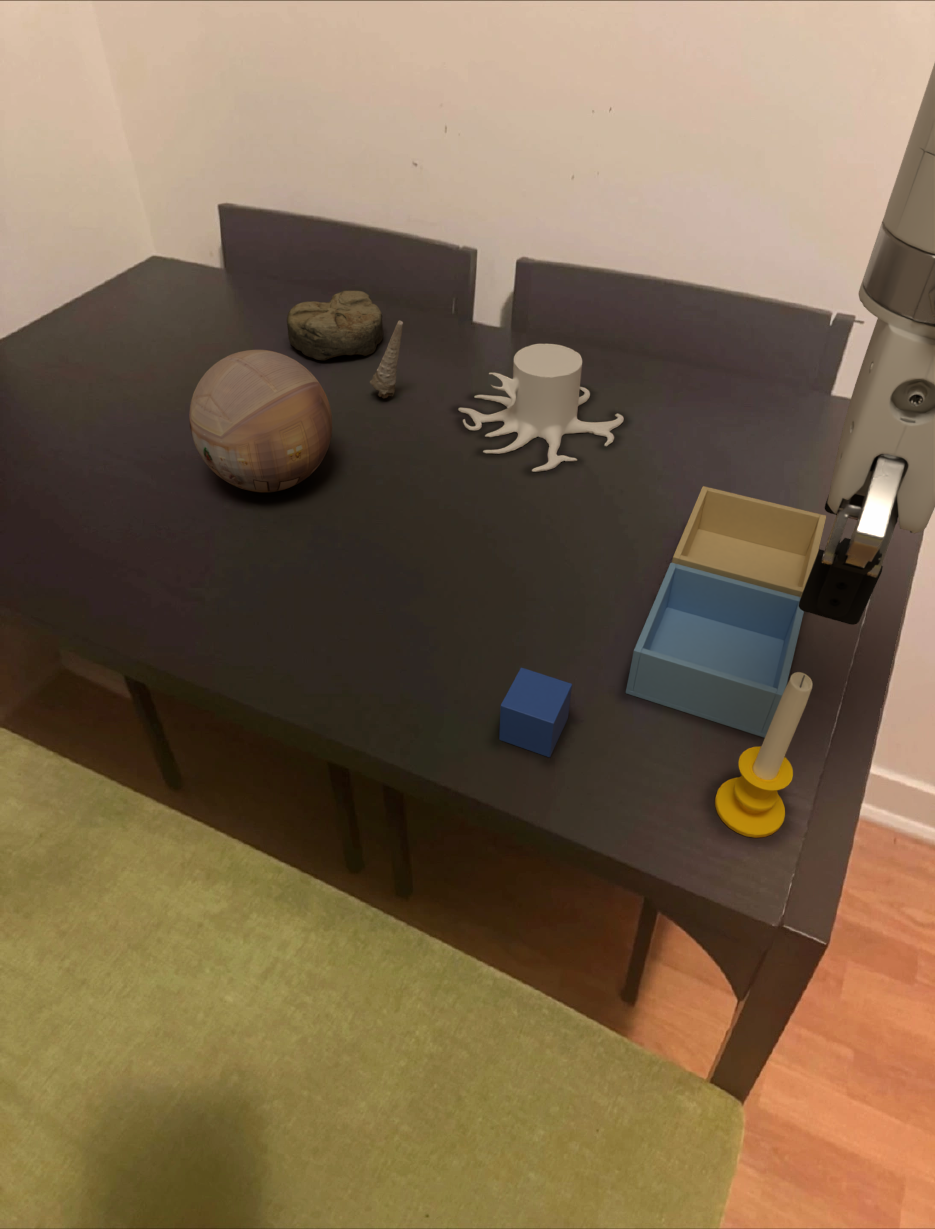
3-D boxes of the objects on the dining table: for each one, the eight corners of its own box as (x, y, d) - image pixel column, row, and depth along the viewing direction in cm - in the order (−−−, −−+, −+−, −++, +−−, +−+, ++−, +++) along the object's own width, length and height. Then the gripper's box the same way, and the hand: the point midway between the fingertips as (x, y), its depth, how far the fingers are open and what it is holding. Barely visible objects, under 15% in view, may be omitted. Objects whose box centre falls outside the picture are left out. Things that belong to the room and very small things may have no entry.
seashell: (376, 390, 112) (369, 308, 104) (413, 397, 110) (408, 314, 103) (366, 401, 110) (358, 319, 102) (403, 409, 108) (398, 325, 101)
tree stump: (446, 394, 111) (444, 335, 105) (583, 371, 115) (589, 313, 109) (496, 480, 97) (498, 418, 92) (650, 450, 101) (661, 389, 96)
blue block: (568, 718, 73) (572, 683, 69) (549, 758, 70) (553, 723, 66) (518, 701, 74) (521, 666, 71) (499, 740, 71) (500, 705, 68)
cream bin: (810, 558, 87) (826, 515, 84) (792, 636, 79) (808, 593, 76) (693, 527, 91) (702, 485, 87) (663, 599, 83) (672, 556, 79)
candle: (798, 822, 65) (864, 689, 54) (743, 848, 64) (800, 717, 53) (753, 771, 69) (807, 636, 58) (700, 795, 67) (745, 661, 56)
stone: (278, 333, 123) (272, 298, 119) (364, 314, 127) (361, 279, 123) (307, 375, 115) (301, 338, 111) (398, 353, 119) (396, 316, 115)
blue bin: (790, 642, 79) (807, 598, 75) (767, 738, 71) (784, 696, 67) (661, 605, 82) (670, 561, 79) (625, 693, 74) (633, 650, 71)
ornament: (332, 436, 104) (317, 318, 93) (345, 510, 93) (330, 386, 83) (206, 450, 102) (176, 331, 91) (205, 528, 91) (171, 403, 81)
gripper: (1053, 380, 32) (892, 683, 44) (1044, 223, 43) (917, 498, 55) (844, 340, 34) (745, 638, 46) (887, 200, 45) (798, 469, 57)
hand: (839, 562), depth 50 cm, fingers open, 9 cm apart
